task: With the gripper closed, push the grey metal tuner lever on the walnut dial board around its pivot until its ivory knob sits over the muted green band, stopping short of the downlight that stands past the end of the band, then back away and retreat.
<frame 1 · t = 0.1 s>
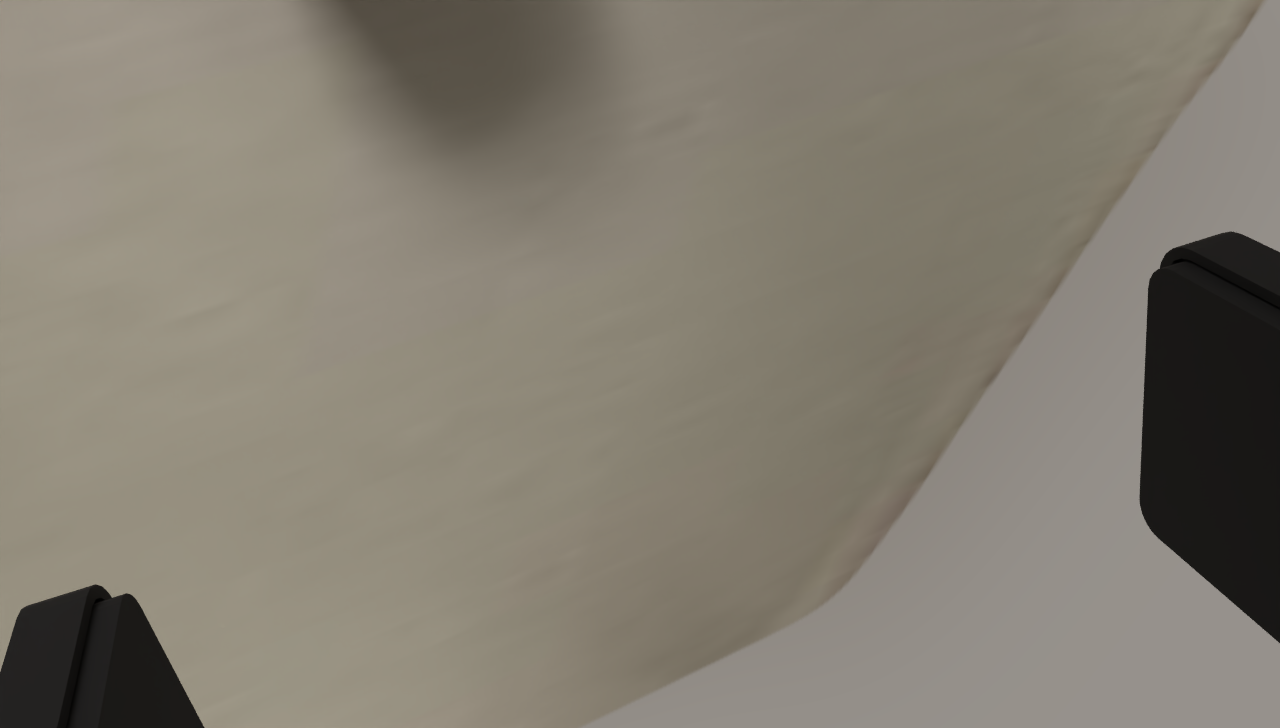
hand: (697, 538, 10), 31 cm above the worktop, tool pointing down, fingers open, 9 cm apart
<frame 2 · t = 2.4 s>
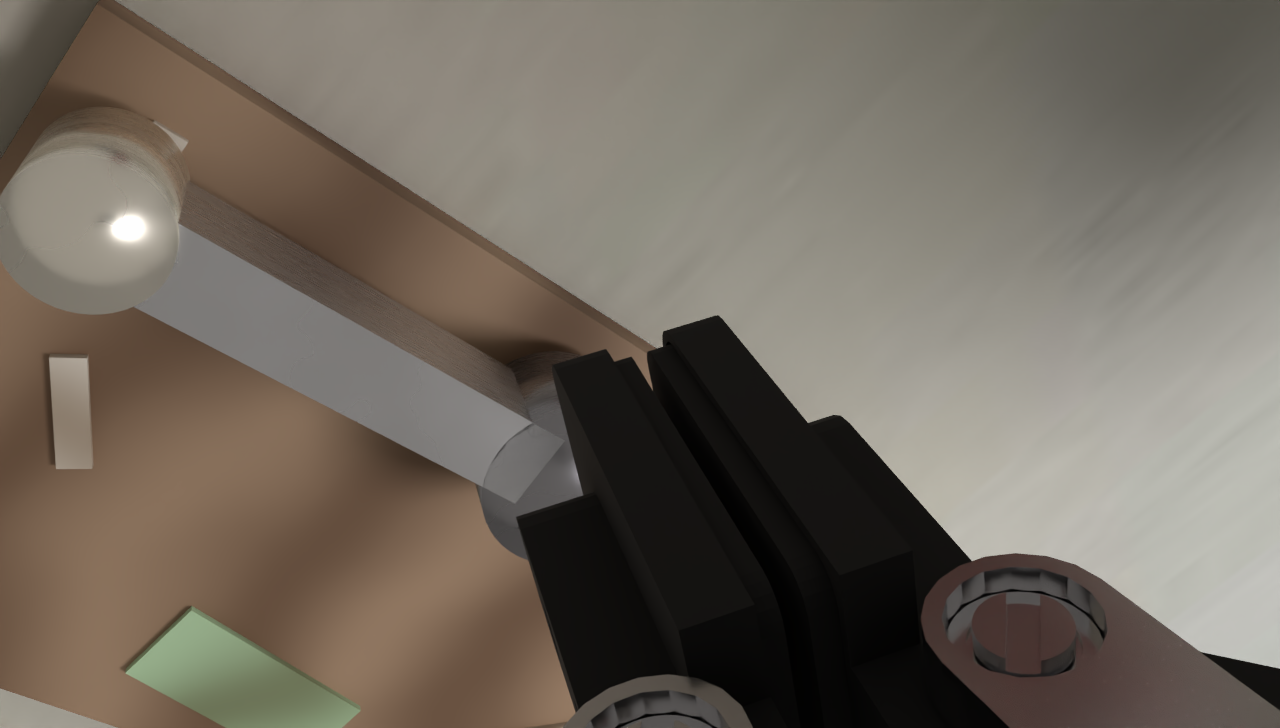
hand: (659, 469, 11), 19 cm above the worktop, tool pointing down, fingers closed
dial board: (361, 511, 32), on the worktop
peg lever: (366, 353, 26), point 4 cm above the worktop, hinge at 0.0°
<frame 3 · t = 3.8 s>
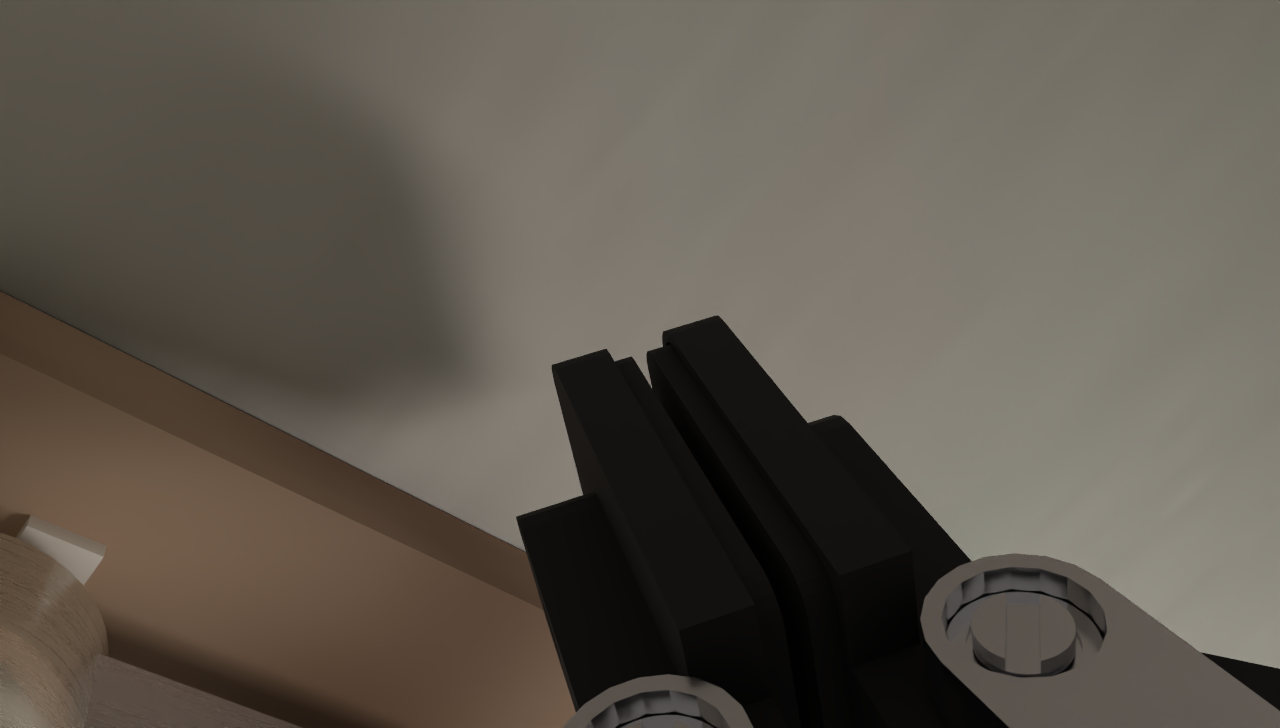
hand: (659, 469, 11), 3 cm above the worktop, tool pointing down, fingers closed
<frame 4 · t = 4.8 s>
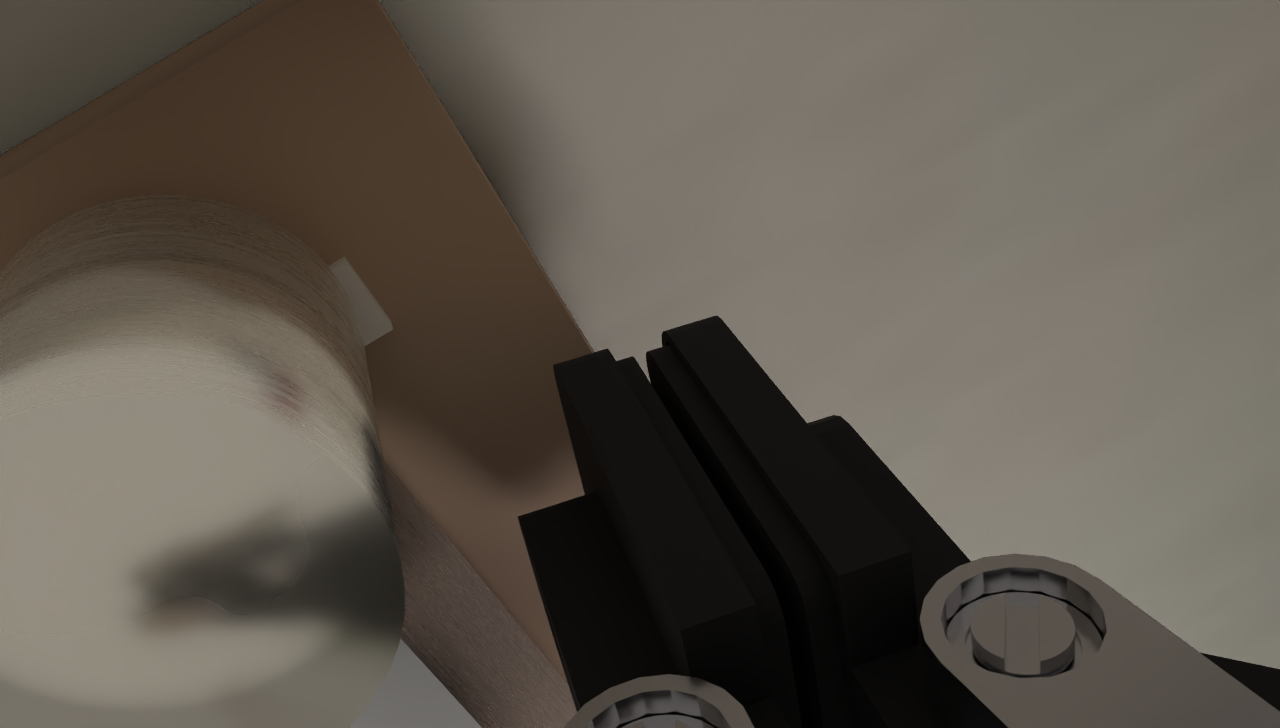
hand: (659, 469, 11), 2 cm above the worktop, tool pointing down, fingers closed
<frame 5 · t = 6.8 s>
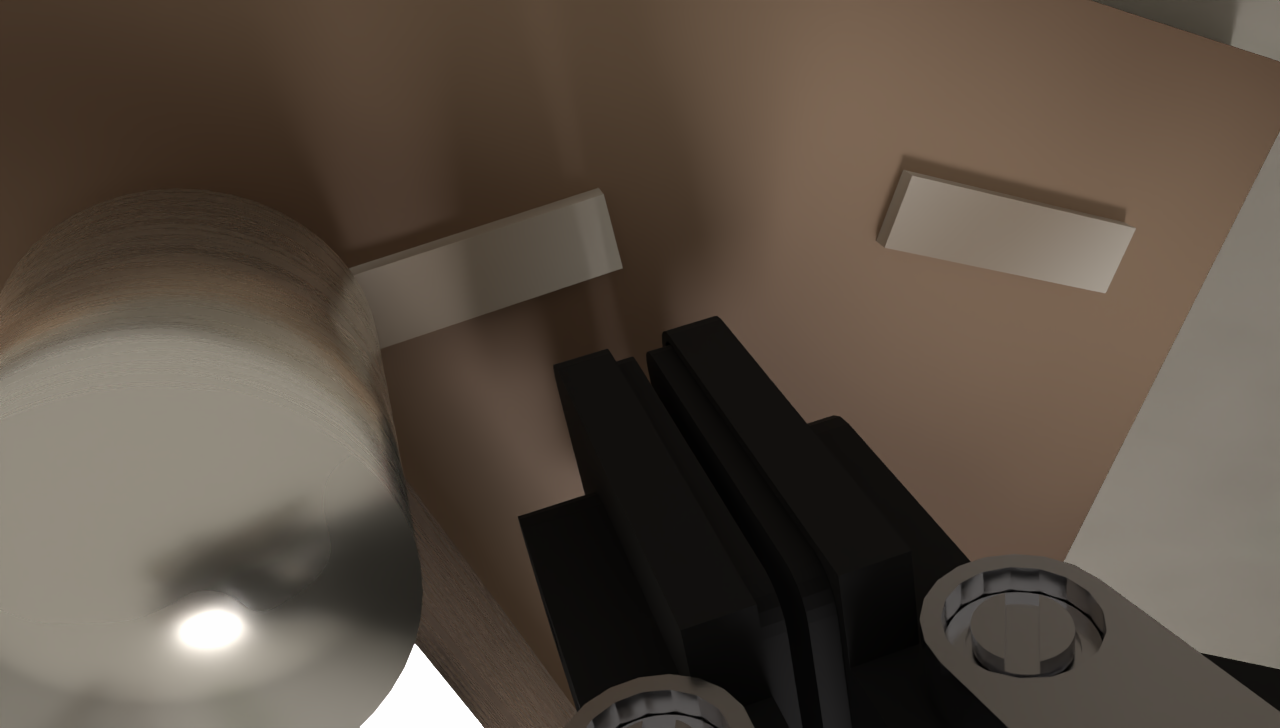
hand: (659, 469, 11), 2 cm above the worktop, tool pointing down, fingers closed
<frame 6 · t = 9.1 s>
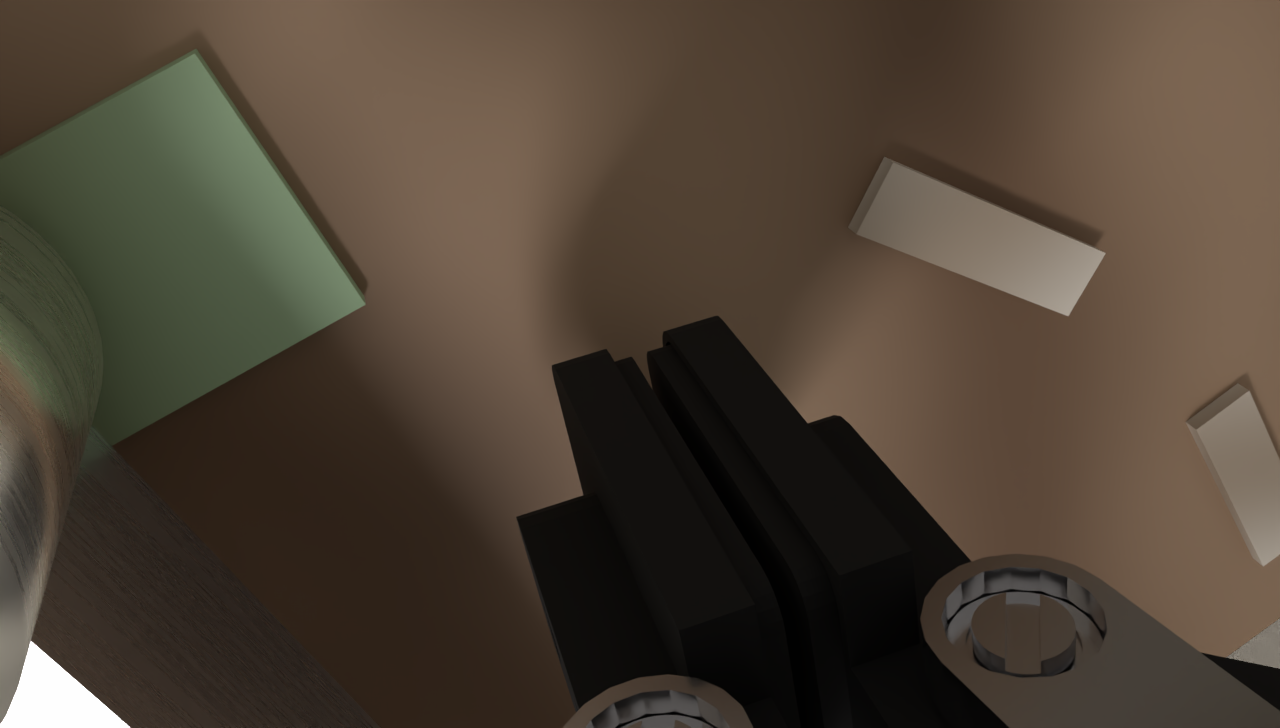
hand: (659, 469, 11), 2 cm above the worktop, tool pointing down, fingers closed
dial board: (408, 622, 14), on the worktop
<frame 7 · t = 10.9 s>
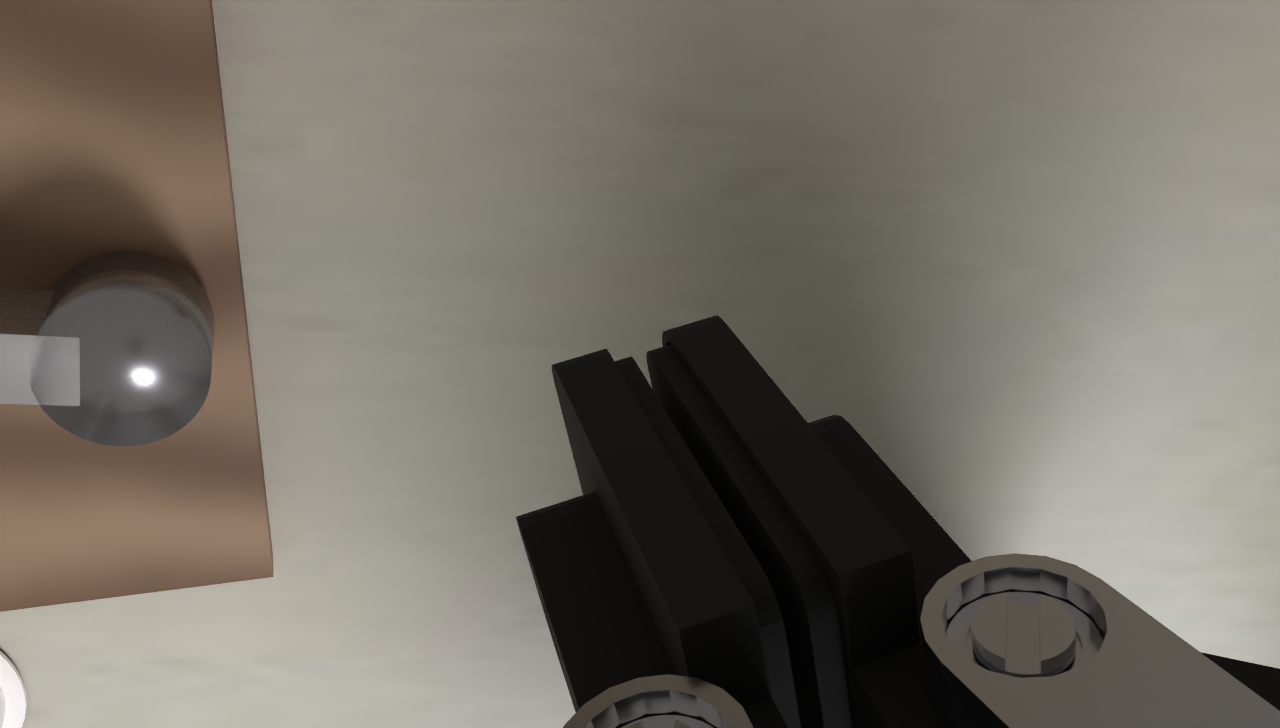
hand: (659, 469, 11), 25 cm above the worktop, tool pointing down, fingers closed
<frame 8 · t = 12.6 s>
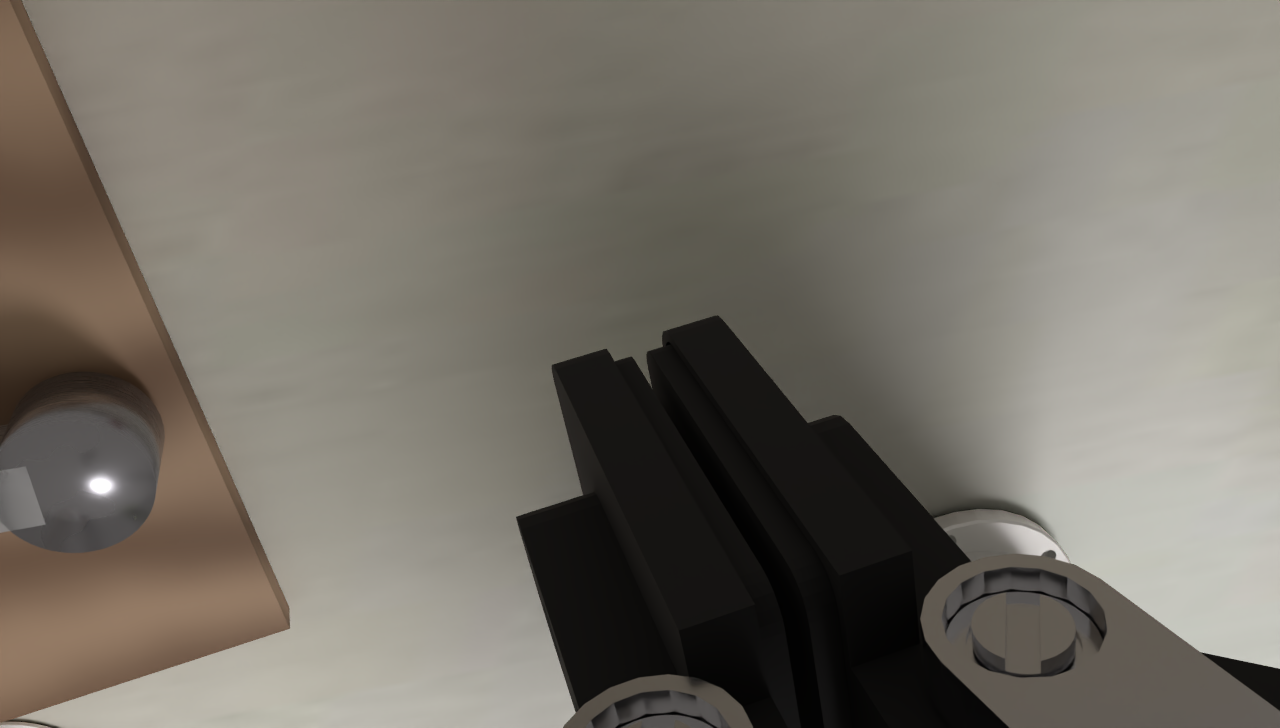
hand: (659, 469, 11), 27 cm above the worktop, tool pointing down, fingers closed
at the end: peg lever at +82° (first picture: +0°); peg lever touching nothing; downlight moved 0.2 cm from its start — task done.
